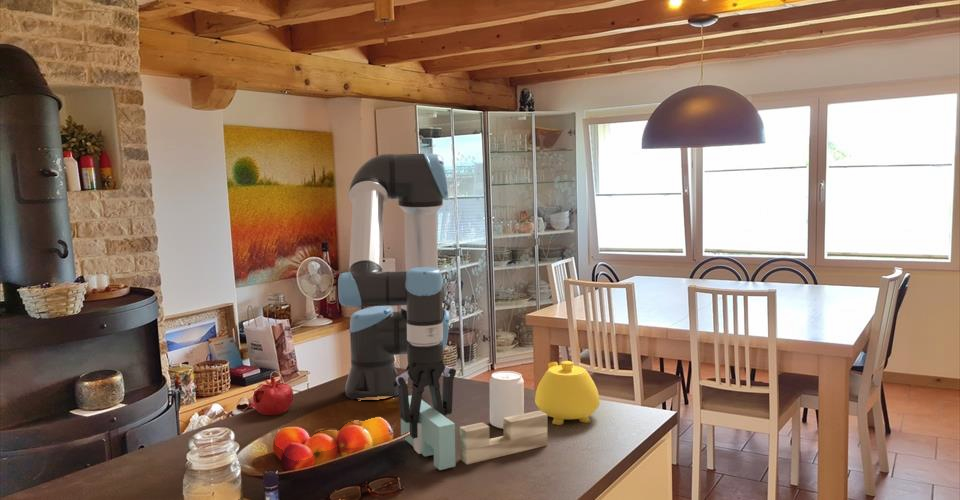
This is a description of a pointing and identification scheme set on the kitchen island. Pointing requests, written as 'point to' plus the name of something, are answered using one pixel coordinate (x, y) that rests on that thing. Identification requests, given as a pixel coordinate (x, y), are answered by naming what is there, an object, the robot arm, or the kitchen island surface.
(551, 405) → the teapot
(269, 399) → the pomegranate
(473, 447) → the birch rail
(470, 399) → the kitchen island surface
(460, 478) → the kitchen island surface
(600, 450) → the kitchen island surface
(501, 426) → the beverage can
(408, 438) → the teal board
